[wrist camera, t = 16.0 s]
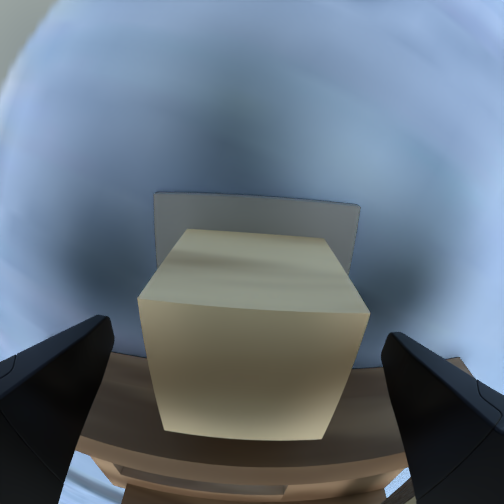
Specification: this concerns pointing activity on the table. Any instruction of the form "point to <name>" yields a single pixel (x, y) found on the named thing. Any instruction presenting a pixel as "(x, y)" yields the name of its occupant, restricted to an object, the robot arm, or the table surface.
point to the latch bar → (402, 495)
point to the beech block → (250, 335)
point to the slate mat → (255, 219)
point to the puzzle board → (242, 448)
